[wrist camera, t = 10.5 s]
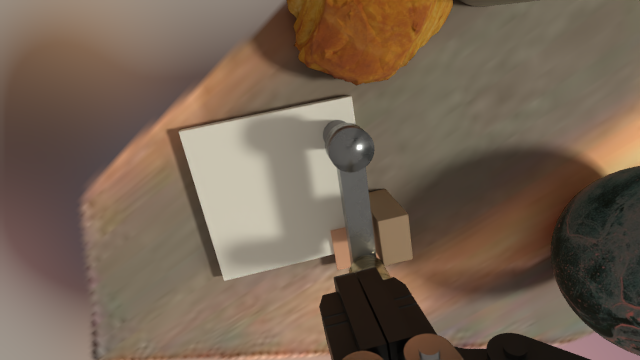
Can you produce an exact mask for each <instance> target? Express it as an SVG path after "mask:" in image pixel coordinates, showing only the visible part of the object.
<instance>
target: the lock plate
mask: <svg viewBox="0 0 640 360" xmlns="http://www.w3.org/2000/svg"><path fill="white" fill-rule="evenodd" d="M341 123H353V124H355V117H354V110H353V103H352V96H350V95H347V96H342V97H337V98H332V99H328V100H323V101H318V102H313V103H308V104H303V105H298V106H293V107H289V108H284V109H279V110H274V111H269V112H264V113H259V114H254V115H250V116H245V117H240V118H235V119H230V120H225V121H220V122H215V123H211V124H206V125H201V126H196V127H191V128H186V129H181V130H180V131H179V135H180V138H181V141H182V145H183V148H184V151H185V154H186V158H187V161H188V164H189V167H190V171H191V174H192V177H193V180H194V184H195V187H196V190H197V193H198V197H199V200H200V203H201V207H202V210H203V213H204V216H205V220H206V223H207V226H208V229H209V233H210V236H211V239H212V242H213V246H214V249H215V252H216V255H217V259H218V262H219V265H220V268H221V272H222V275H223V278H224V281H226V280H230V279H234V278H238V277H242V276H246V275H250V274H254V273H258V272H262V271H267V270H271V269H275V268H279V267H283V266H287V265H291V264H295V263H299V262H304V261H308V260H312V259H316V258H320V257H324V256H328V255H332V254H335V259H336V265H337V269H338V270H341V269H345V268H349V267H351V262H350V255H349V248H348V241H347V235H346V228H345V221H344V215H343V208H342V201H341V194H340V188H339V181H338V174H337V167H336V166H335V165H334V164H333V163H332V161H331V160H330V158H329V157H328V155H327V153H326V150H325V139H326V136H327V134H328V133H329V131H330V130H331V129H332V128H333V127H335V126H336V125H338V124H341ZM369 200H370V208H371V216H372V224H373V233H374V241H375V249H376V257H377V258H379V259H380V260H381V262H382V263H383V265H384V266H387V265H391V264H395V263H399V262H403V261H407V260H411V259H413V255H412V246H411V236H410V226H409V217H408V214H407V213H406V211H405V210H404V209H403V208H402V207H401V206H400V205H399V204H398V202H397V201H396V200H395V199H394V198H393V197H392V196H391V195H390V194H389V192H388V191H387V190H386V189H382V190H377V191H373V192H369Z"/></svg>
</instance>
